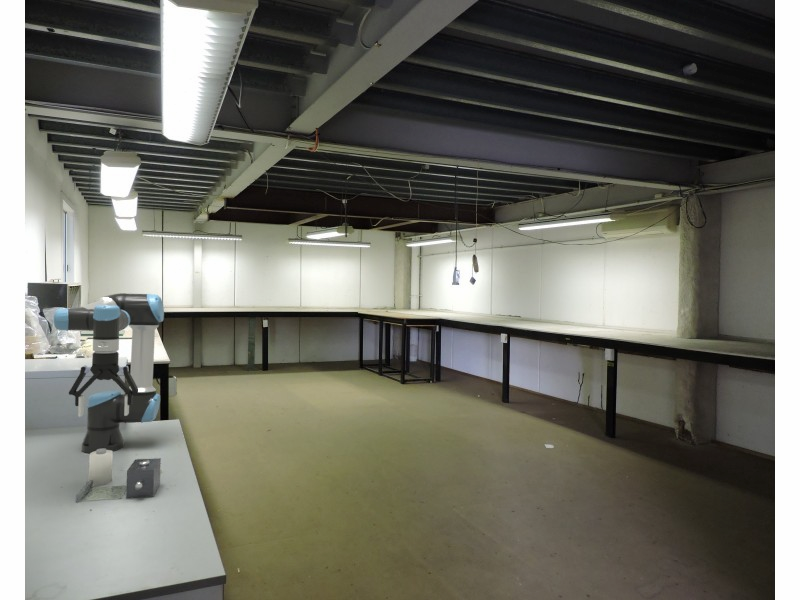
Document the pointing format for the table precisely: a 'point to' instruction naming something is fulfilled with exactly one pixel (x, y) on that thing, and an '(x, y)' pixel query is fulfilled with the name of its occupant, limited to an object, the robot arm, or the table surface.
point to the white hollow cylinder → (100, 466)
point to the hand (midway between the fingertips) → (103, 415)
